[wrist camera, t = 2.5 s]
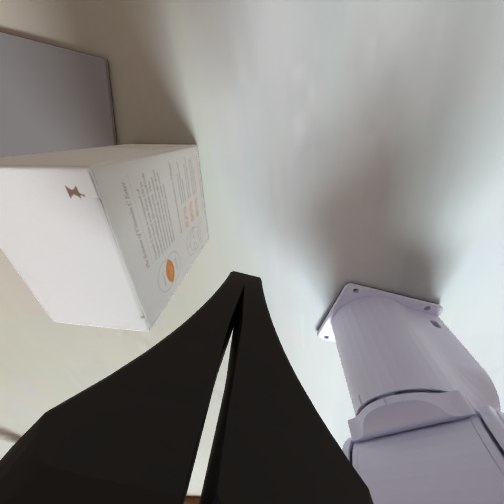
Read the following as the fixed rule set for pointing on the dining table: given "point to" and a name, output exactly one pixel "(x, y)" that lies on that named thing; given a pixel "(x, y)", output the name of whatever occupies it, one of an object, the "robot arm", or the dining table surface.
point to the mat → (52, 99)
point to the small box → (103, 229)
